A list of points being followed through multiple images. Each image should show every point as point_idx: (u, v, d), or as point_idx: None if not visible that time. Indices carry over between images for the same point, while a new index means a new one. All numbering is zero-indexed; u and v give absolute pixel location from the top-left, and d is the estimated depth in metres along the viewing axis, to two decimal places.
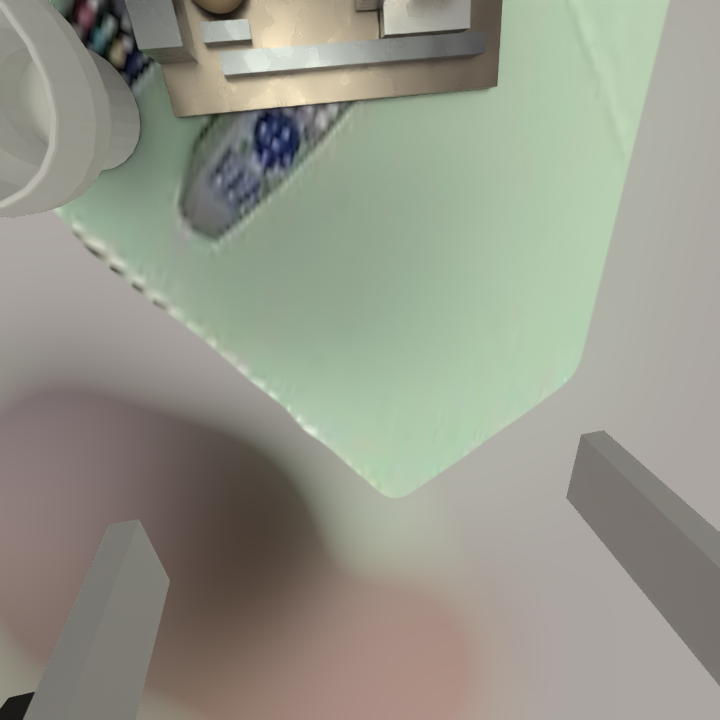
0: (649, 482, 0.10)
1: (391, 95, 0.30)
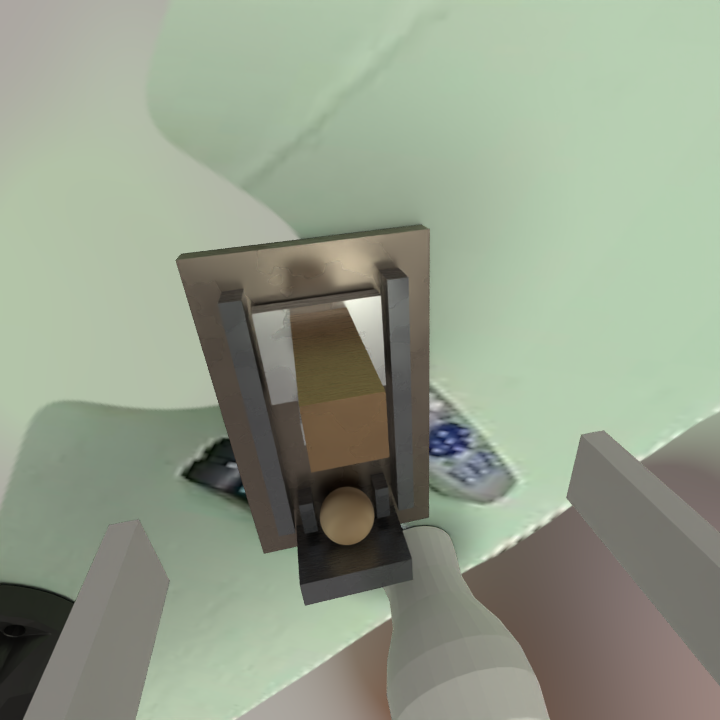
0: (649, 482, 0.10)
1: (428, 356, 0.27)
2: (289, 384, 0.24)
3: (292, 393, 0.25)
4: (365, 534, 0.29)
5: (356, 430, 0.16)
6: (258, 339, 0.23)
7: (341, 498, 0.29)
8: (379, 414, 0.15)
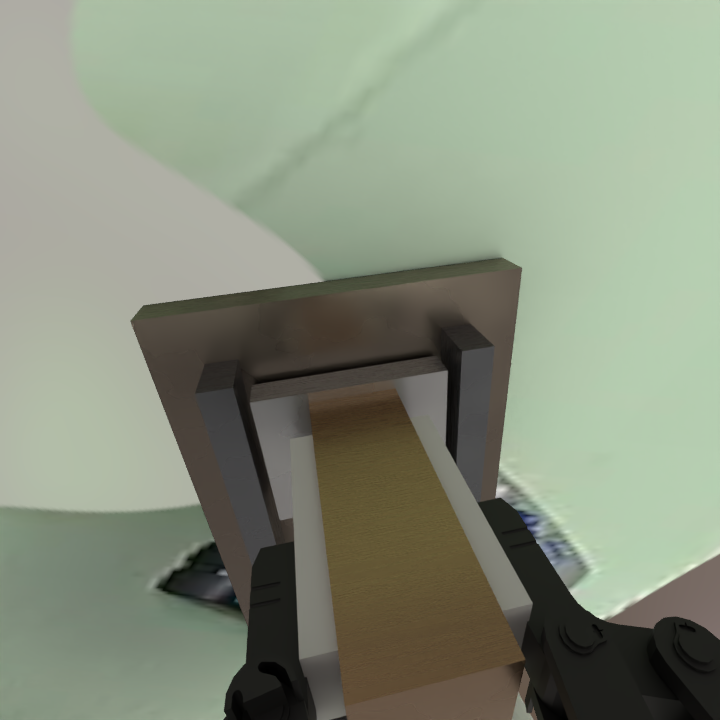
0: (441, 458, 0.12)
1: (500, 439, 0.19)
2: None
3: None
4: None
5: (455, 717, 0.08)
6: (260, 437, 0.15)
7: None
8: (505, 691, 0.07)
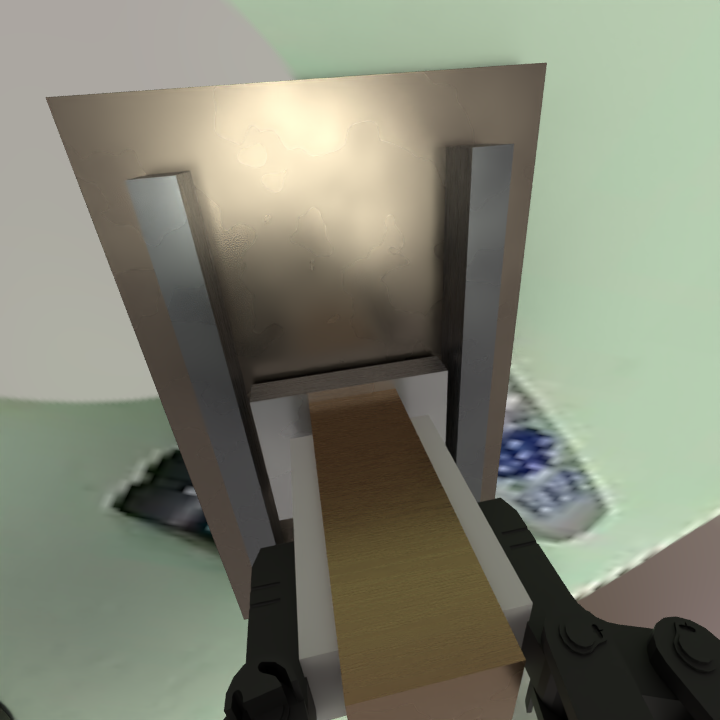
0: (441, 458, 0.12)
1: (514, 318, 0.16)
2: None
3: None
4: None
5: (455, 717, 0.08)
6: (260, 437, 0.15)
7: None
8: (505, 691, 0.07)
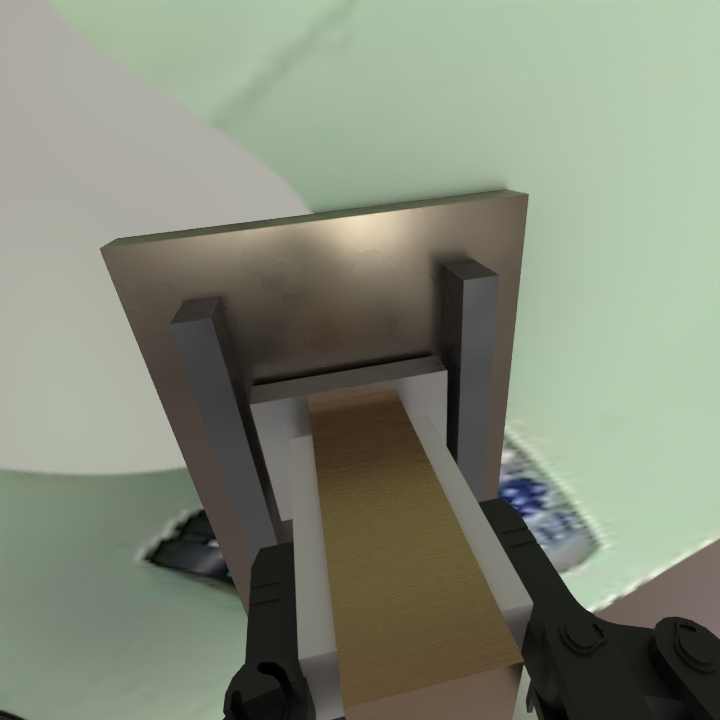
0: (441, 458, 0.12)
1: (505, 394, 0.18)
2: None
3: None
4: None
5: (455, 718, 0.08)
6: (260, 438, 0.15)
7: None
8: (504, 692, 0.07)
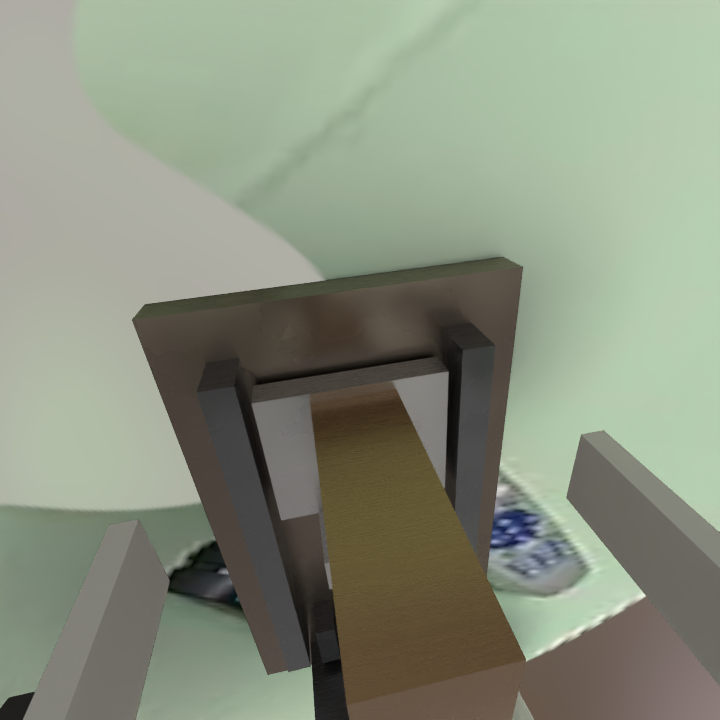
0: (649, 482, 0.10)
1: (500, 439, 0.19)
2: (307, 493, 0.17)
3: (311, 504, 0.17)
4: None
5: (455, 716, 0.08)
6: (262, 437, 0.15)
7: None
8: (505, 690, 0.08)
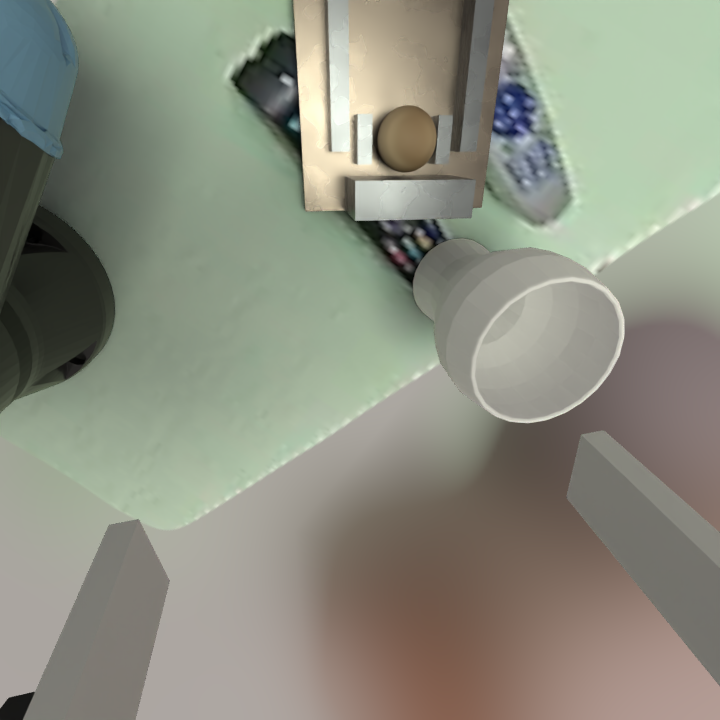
0: (649, 482, 0.10)
1: None
2: None
3: None
4: (428, 146, 0.26)
5: None
6: None
7: (405, 105, 0.26)
8: None
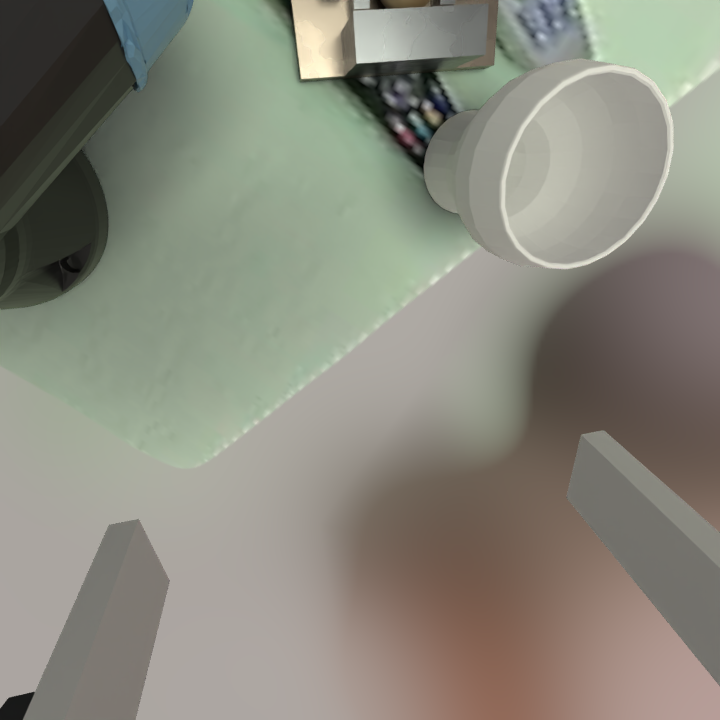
0: (649, 482, 0.10)
1: None
2: None
3: None
4: None
5: None
6: None
7: None
8: None
